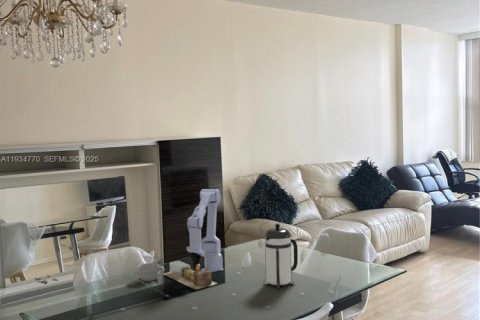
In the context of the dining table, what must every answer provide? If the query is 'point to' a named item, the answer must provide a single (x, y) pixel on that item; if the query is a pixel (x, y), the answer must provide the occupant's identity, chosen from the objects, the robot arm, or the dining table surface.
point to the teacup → (149, 271)
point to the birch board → (186, 280)
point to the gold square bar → (190, 271)
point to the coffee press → (279, 256)
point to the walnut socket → (202, 278)
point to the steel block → (178, 268)
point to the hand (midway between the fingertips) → (196, 267)
